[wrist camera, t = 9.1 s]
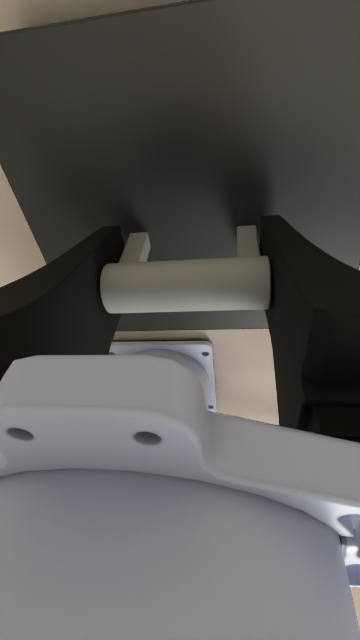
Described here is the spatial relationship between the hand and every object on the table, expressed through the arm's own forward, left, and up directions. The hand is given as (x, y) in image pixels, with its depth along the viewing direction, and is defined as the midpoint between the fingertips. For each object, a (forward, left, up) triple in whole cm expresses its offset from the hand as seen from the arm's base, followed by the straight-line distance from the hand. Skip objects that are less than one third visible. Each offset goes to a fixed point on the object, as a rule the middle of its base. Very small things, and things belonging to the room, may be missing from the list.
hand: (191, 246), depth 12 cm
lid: (+1, 0, -1) cm, 2 cm away
